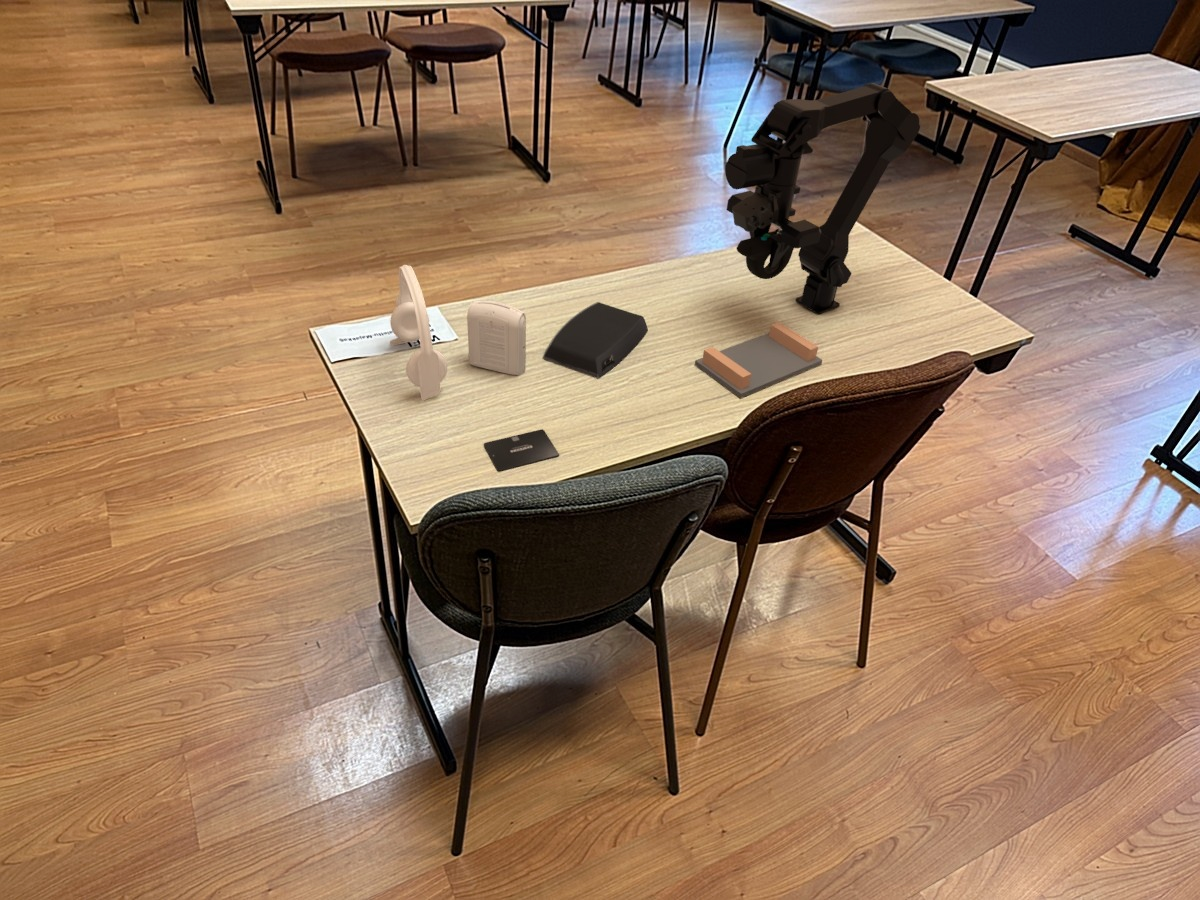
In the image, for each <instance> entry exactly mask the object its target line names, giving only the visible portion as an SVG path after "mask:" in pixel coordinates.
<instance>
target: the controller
mask: <svg viewBox="0 0 1200 900" xmlns="http://www.w3.org/2000/svg"><path fill="white" fill-rule="evenodd" d="M778 230H779V228H778V227H777V228H776V229H775V230H774V231H769V232H768V233H766V234H764V235H761V236H757V237H753V238H751V237H750V238H746V239H742V240H740V242H739V243H738V245H737V246H736V251H737V253H738V254H740V255H741V256H743V257H745V264H746V268H747V269H748V271H749V272H750V273H751V274H752V275H754V276H755V277H756V278H759V279H763V280H769V279H773V278H775V277H777V276H778V275H779V274H781V273H782V272H783V271H784V270H785V268H786V267H787V266H788V264H789V262H790V260H791V258H792V254H793V252H794V249H795V248H793V247H791V246H790V247H789V248H788V250H787V251H786V252H785V253H784V255H783V256H782V257H781V259H780V260H779V261H778V263H777V264H776V265H775V267H772V268H771V267H769V263H767V265H766V266H765V264H766V261H767V259H768V258H770V255H771V249H772V241H771V239H770V238H769V236H771V235H774V234H777V232H778Z"/></svg>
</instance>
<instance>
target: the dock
mask: <svg viewBox="0 0 1200 900" xmlns="http://www.w3.org/2000/svg"><path fill="white" fill-rule="evenodd" d="M818 350H819V346H818V345H816V344H815V343H814V342H811V341H810V340H808V339H807V338H806V337H804V336H802V335H801V334H799V333H797V332H795V331H794V330H792V329H791V328H789V327H788V326H787V325H784V324H783V323H781V322H780V321H777V322H775V323H773V324H771V325H770V329H769V332H767V333H764V334H761V335H759V336H756V337H754V338H750V339H747V340H746V341H743V342H741V343H738V344H735V345H733V346H729V347H727V348H725V349H722V350H718V349H717V348H715V347H713V346H711V347H708V348H705V349H704V350H703V355H702V357H700V358H698V359H695V361H694V366H696V367H697V369H699V370H700V371H702V372H703V373H705V374H706V375H708V376H709V377H710V378H711V379H713V380H714V381H716V382H717V383H719V384H720V385H721V386H723V387H724V388H725V389H726V390H728V391H729V392H731V394H734V395H735V396H736V397H738V398H739V399H740V398H741V399H743V398H745V397H747V396H750V395H752V394H754V393H757V392H760V391H762V390H764V389H766V387H767V388H768V387H771V386H774V385H776V384H779V383H781V382H783V381H785V380H787V379H790V378H792V377H795V376H798V375H800V374H802V373H805V372H807V371H810V370H812V369H814V368H816V367H817V368H818V367H819V366H822V363H823V359H822V358H820V357H819V356H817V354H818ZM780 381H781V382H780ZM778 382H779V383H778ZM773 384H774V385H773Z"/></svg>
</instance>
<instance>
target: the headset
mask: <svg viewBox="0 0 1200 900" xmlns="http://www.w3.org/2000/svg"><path fill="white" fill-rule="evenodd" d="M398 287H399V288H398V290H399V293H398V294H397V295H396V300H395V302H396V303H395V304H396V307H395V308H394V309H393V311H392V313H391V316H390V319H389V321H390V328H391V331H392V332H393V334H394V335H395V337H396V338H393V339H391V340H389V345H390V346H391V347H393V346H398V345H401V344H403V345H404V344H405V343H413V342H417V341H419V345H420V349H419V350H416V351H415V352H413V354H411V355H410V357H409V358H408V360H407V362H406V366H405V371H406V372H405V373H406V376H407V378H408V380H409V381H410V382H411V384H413V385H414V386H416V387H418V388H419V392H420V398H421V400H422V401H425V400H429V399H431V398H434V397H436V396H437V395H439V394H441V393H440V392H441V383H442V382H443V381H444V379H445V378H446V376H447V373H448V361H447V359H446V357H445V356H444V355H443V354H442V353H441V352H440V351H439V350H436V349H434V347H433V341H432V333H431V328H430V317H429V314H428V310H427V306H426V305H427V304H426V302H425V299H424V298H425V297H424V294H423V291H422V288H421V286H420V283H419V280H418V278H417V276H416V273H415V271H414V269H413V267H412V266H411V265H407V264H403V265H402V266H399V267H398ZM392 345H393V346H392Z"/></svg>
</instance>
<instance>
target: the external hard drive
mask: <svg viewBox="0 0 1200 900" xmlns="http://www.w3.org/2000/svg"><path fill="white" fill-rule="evenodd" d="M648 332H649V329H648V325H647V322H646V320H645V317H644V316H643V315H640V314H636V313H633V312H631V311H627V310H623V309H621V308H618V307H614V306H612V305H608V304H606V303H603V302H600V301H596V302H595V303H593V304H590V305H589V306H587V307H586V308H583V309H581V311H579V312H578V313H577V314H575V315H574V316H572V317H571V318H570V319H569V320H568V321H567V322H566V323H564V325H562V327H561V328H560V329H559V330H558V331H557V332H556V333H555V335H554V336H553V337H552V339H551V341H550V342H549V344H548V346H547V348H546V349H545V351H544V353H543V356H542V359H543V360H544V361H548V362H550V363H553V364H556V365H559V366H561V367H565V368H567V369H570V370H573V371H576V372H579V373H581V374H584V375H587V376H590V377H593V378H596V379H598V380H599V379H600V378H603V377H604V376H605V375H607V373H609V372H611V371H612V370H613V369H615V368H616V366H617V365H619V364H620V363H621V362H622V361H623V360H624V359H625V358H627V356H629V355H630V353H632V352H633V350H634V349H636V347H637V346H638V345H639V344H640V343H641V341H642V340H643V339H644V337H645V336H646V334H647V333H648Z"/></svg>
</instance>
